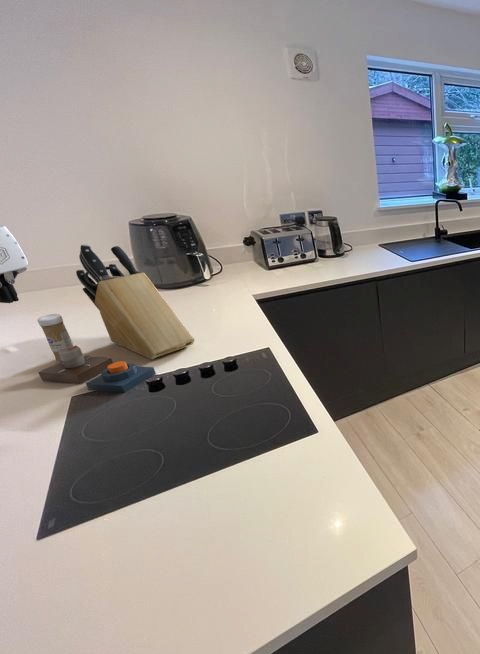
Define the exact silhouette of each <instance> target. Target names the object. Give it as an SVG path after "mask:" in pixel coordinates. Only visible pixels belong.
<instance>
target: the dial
mask: <svg viewBox="0 0 480 654" xmlns="http://www.w3.org/2000/svg"><path fill="white" fill-rule="evenodd" d="M58 353H59V356H60V358H61V360H62V362H63V364H64V366H65V368H74V367H78V366H81V365H83V364H85V363H86V361H85V358H84V356H85V355H84V354H83V351H82V349H81V347H80V346H78V345H74V346H73V347H69V348H65V349H63V350H61V351H59V352H58Z"/></svg>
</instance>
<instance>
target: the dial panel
mask: <svg viewBox="0 0 480 654" xmlns="http://www.w3.org/2000/svg"><path fill="white" fill-rule="evenodd" d="M83 356H84V358H85V361H86V363H85V364H83V365H81V366H78V367H74V368H65V366H64V364H63V362H62V361H58V362H56V363H55V364H52V365H50V366H48V367H46V368H44V369H42V370H39V371H38V372H37V373H38V375H39V377H40V379H41V381H42V383H57V384H70V385H82V384H84V383H85V384H86V383H87V382H89V381H91V380H93V379H94V378H96V377H98V376H100V375H101V373H102V372H103V371H104V370H105V369H107V367H108V365H110V364H112V363H114V362H113V359H112V357H107V356H106V357H105V356H93V355H83Z"/></svg>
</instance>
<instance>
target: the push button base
mask: <svg viewBox="0 0 480 654" xmlns="http://www.w3.org/2000/svg"><path fill="white" fill-rule="evenodd" d="M126 364H127V367H128V369H126V370H124V371H122V372H119V373H113V374H111V373H109V370H108V368H107V369H105V370H104V371H103V372H102V373H101V374H100V375H98V376H96V377H94V378H92V379H90V380H88V381H86V382H85V385H86V387H87V389H88V391H94V392H95V391H96V392H106V393H107V392H108V393H122V394H125V393H127V392H129V391H130V390H132V389H134V388H135V387H137V386H138V385H140V384H142V383H144V382H145V381H147V380H149V379H150V378H152V377H154V376H156V375H157V373H156V370H155V367H154V366H141V365H136V364H135V363H134V362H126Z"/></svg>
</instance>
